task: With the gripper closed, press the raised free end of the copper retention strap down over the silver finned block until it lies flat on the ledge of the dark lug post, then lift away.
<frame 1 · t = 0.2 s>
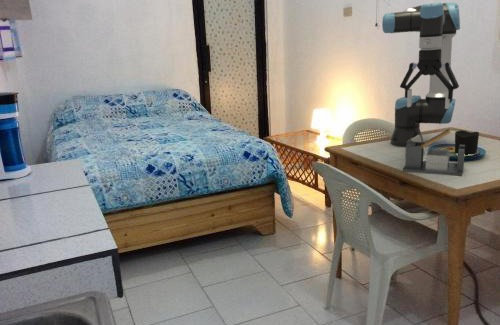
hand: (427, 107, 163), 28 cm above the table, tool pointing down, fingers open, 13 cm apart
strap: (432, 140, 177), point 12 cm above the table, hinge at 35.0°
pen holder: (465, 155, 194), on the table
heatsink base: (416, 167, 183), on the table
electrical switch: (415, 156, 197), on the table
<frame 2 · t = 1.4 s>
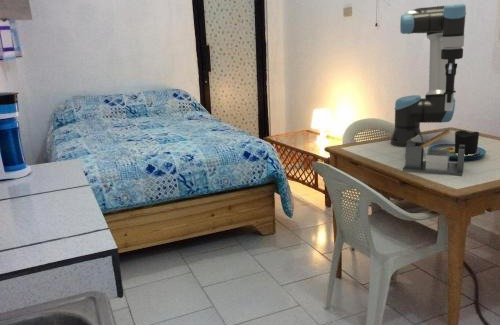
hand: (448, 110, 171), 24 cm above the table, tool pointing down, fingers closed
nothing on the table moved.
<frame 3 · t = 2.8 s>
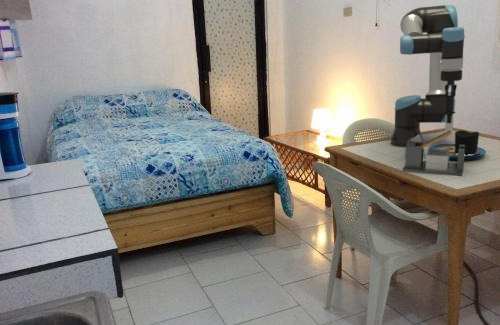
hand: (448, 130, 173), 16 cm above the table, tool pointing down, fingers closed
strap: (432, 141, 177), point 12 cm above the table, hinge at 32.2°, touching gripper
everything else where it was.
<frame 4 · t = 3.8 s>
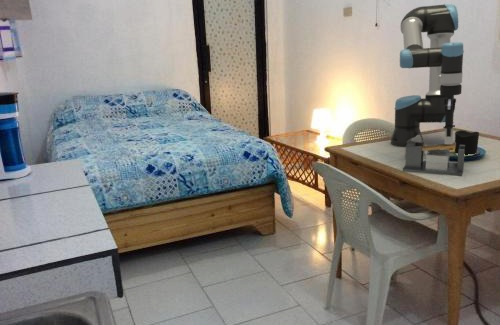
hand: (448, 143, 174), 11 cm above the table, tool pointing down, fingers closed
strap: (435, 147, 177), point 9 cm above the table, hinge at 9.7°, touching gripper
everything else where it was.
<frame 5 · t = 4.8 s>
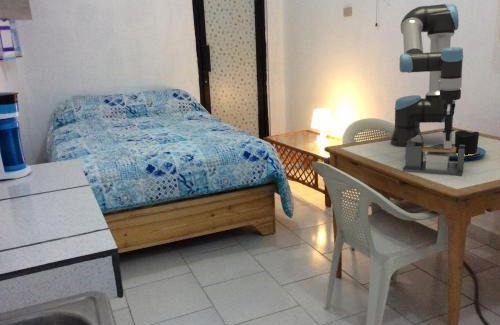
hand: (447, 148, 175), 9 cm above the table, tool pointing down, fingers closed
strap: (435, 149, 177), point 8 cm above the table, hinge at 2.2°, touching gripper
everything else where it was.
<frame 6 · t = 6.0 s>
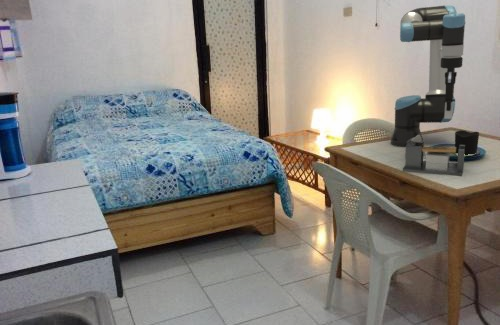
hand: (448, 118, 172), 21 cm above the table, tool pointing down, fingers closed
strap: (435, 149, 177), point 8 cm above the table, hinge at 2.2°
everything else where it was.
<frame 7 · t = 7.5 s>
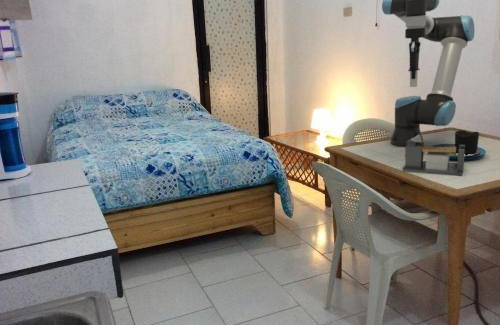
hand: (413, 86, 182), 32 cm above the table, tool pointing down, fingers closed
nothing on the table moved.
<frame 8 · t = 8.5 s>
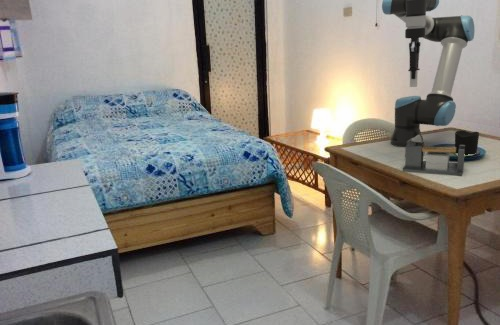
hand: (413, 86, 182), 32 cm above the table, tool pointing down, fingers closed
nothing on the table moved.
at the end: strap at +2° (first picture: +35°); strap touching nothing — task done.
